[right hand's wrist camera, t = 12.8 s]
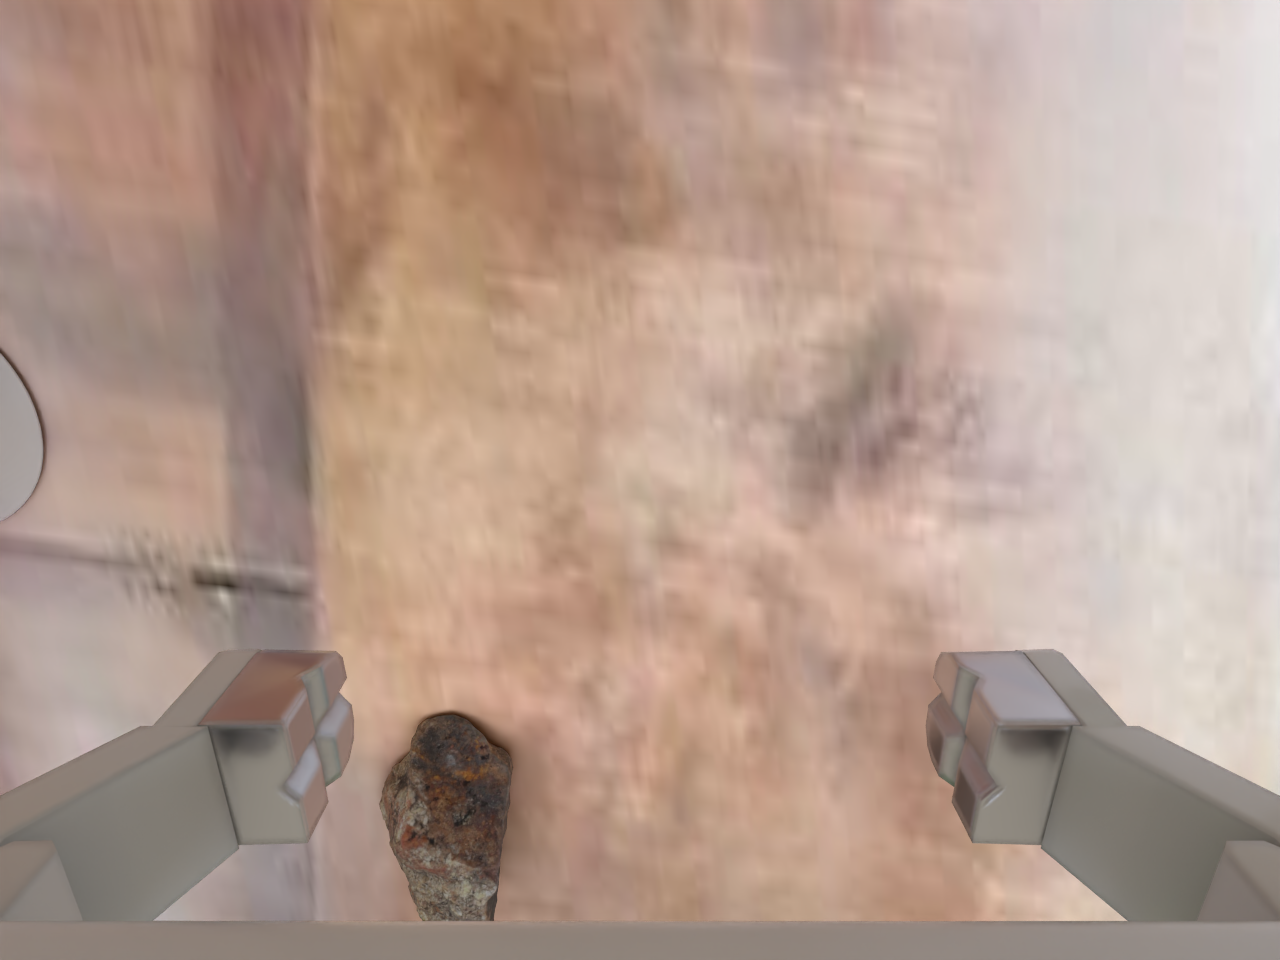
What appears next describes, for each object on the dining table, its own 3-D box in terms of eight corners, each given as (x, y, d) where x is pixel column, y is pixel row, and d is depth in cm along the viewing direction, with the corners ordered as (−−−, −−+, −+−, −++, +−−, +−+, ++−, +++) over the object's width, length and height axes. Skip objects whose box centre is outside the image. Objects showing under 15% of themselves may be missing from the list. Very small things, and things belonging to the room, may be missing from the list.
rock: (553, 729, 53) (411, 692, 52) (541, 819, 45) (372, 778, 43) (498, 888, 57) (366, 857, 56) (478, 998, 49) (322, 964, 47)
